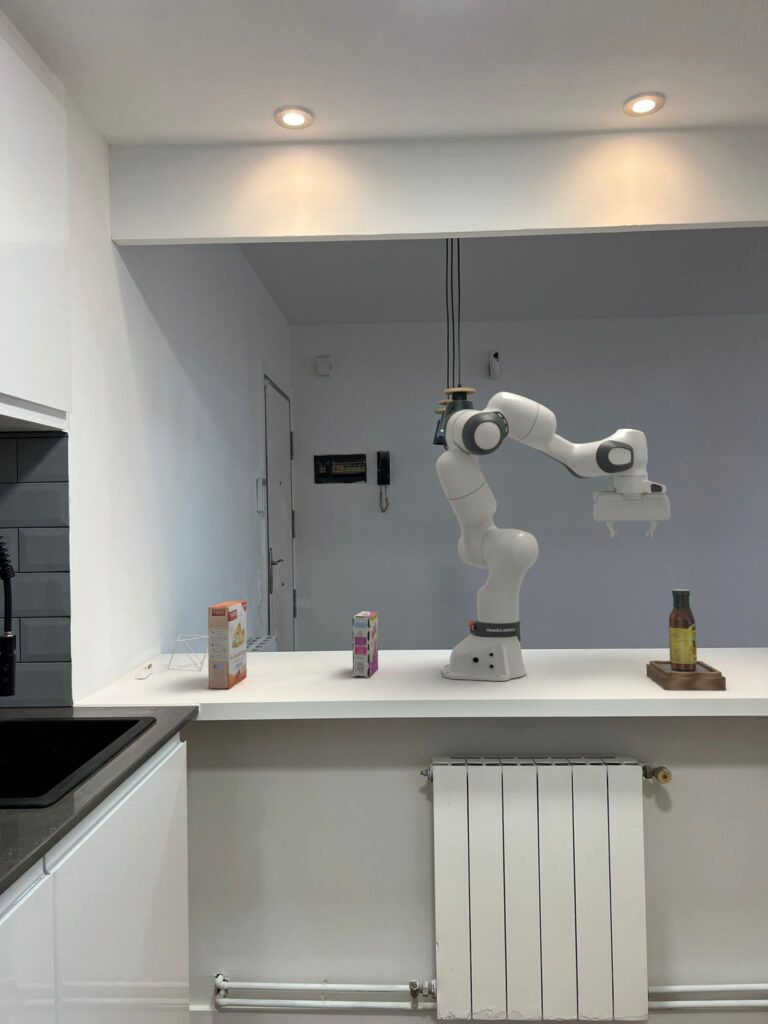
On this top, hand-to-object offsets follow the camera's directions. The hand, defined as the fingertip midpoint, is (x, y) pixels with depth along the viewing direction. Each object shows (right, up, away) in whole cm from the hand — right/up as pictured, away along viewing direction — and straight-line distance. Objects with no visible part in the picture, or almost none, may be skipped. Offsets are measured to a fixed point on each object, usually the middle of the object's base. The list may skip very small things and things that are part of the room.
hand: (631, 537), depth 191 cm
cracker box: (-109, -38, -11) cm, 116 cm away
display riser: (+6, -36, -19) cm, 41 cm away
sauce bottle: (+6, -33, -19) cm, 38 cm away
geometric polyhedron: (-125, -38, +9) cm, 131 cm away
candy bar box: (-74, -37, -2) cm, 83 cm away
